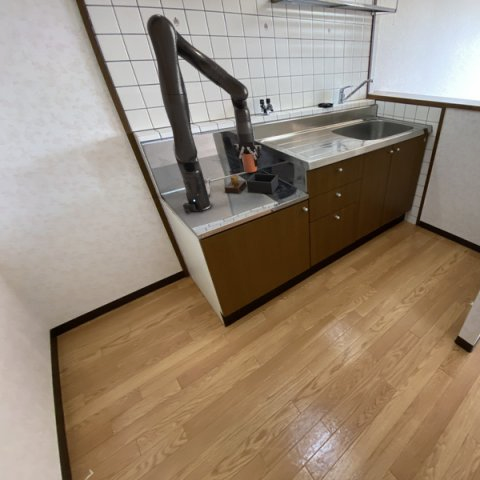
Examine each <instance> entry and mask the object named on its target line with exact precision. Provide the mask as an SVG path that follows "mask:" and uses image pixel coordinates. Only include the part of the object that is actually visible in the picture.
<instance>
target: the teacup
mask: <svg viewBox="0 0 480 480" xmlns="http://www.w3.org/2000/svg"><path fill="white" fill-rule="evenodd" d="M204 181H205V185H206V189H207V193H208V196H209V195H210V194H211V186H212V180H211V178H204Z"/></svg>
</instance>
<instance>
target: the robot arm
mask: <svg viewBox="0 0 480 480" xmlns="http://www.w3.org/2000/svg"><path fill="white" fill-rule="evenodd" d="M146 31H147V34H148V36H149V40H150V42H151V45H152V47H153V48H152V49H153V52H154V55H155V60H156V65H157V74H158V83H159V90H160V94H161V100H162V103H163V107H164V111H165V113H166V117H167V119H168V122H169V125H170V128H171V132H172V138H173V143H172V151H173V155H174V158H175V161H176V163H177V167H178V170H179V173H180V176H181V179H182V183H183V186H184V189H185V196H186V199H187V200H186V201H187V202H184V203H183V204H182V207H183V209H184V212H185V213H186V214H188V213H189V211H190V212H191V211H192V212H201V213H202V212H205V211H207V210H209V209H210V208H211V207H212V204H211V201H210V196H209V195H208V193H207V189H206V185H205V181H204V179H205V177H204V173H203V170H202V167H201V164H200V160H199V158H198V149H197V146H196V143H195V139H194V136H193V132H192V123H191V112H190V104H189V98H188V93H187V89H186V84H185V80H184V77H183V73H182V70H181V66H180V61H179V58H181V59H183V60H184V61H185V62H186V63H188V64H189V65H191V67H193V68H194V69H195V70H196V71H198V72H199V73H200V74H201V75H203V77H205V78H206V79H207V80H209V81H210V82H211V83H212V84H214V85H216V86H217V87H219V88H220V89H222V90H223V91H224V92H226V93H227V94H228V95H229V97H230V101H231V104H232V108H233V115H234V120H235V130H236V136H237V137H236V138H237V141H238V143H234V144H233V145H232V148H233V151H234V152H233V153H234V155H235V158H239V162H240V165H241V166H242V167H244V166H243V160H242V154H241V153H243V154H244V153H249V154H250V153H251V154H252V155H253V157H254V162H255V167H257V168H258V166H259V165H260V161H259V159H261V158H262V157H263V155H262V154H263V153H262V144H259V145H258V144H256V143H255V136H254V128H253V123H252V119H251V112H250V108H249V106H248V102H247V100H248V98H249V90H248V88H247V86H246V85H245V84H244V83H242V82H241V81H240V80H239V79H237V78H236V77H234V76H233V75H231V74H230V73H229V72H228V71H227V70H225V68H223V66H221V65H220V64H218V63H217V62H216V61H215V60H213V59H212V58H211V57H209V56H208V55H207V54H205V53H203V52H202V51H200V50H199V49H198V48H196V47H195V46H194V45H192V44H191V43H190V42H189V41H188V40H186V39H185V38H184V37H183V36H182V35H181V34H180V32H178V30H177V29H176V28H175V26H174V24H173V22H172V21H171V20H170V19H169V18H168V17H166V16H165V15H163V14H159V13H155V14H152V15H150V16H149V18H148V19H147V21H146Z"/></svg>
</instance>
